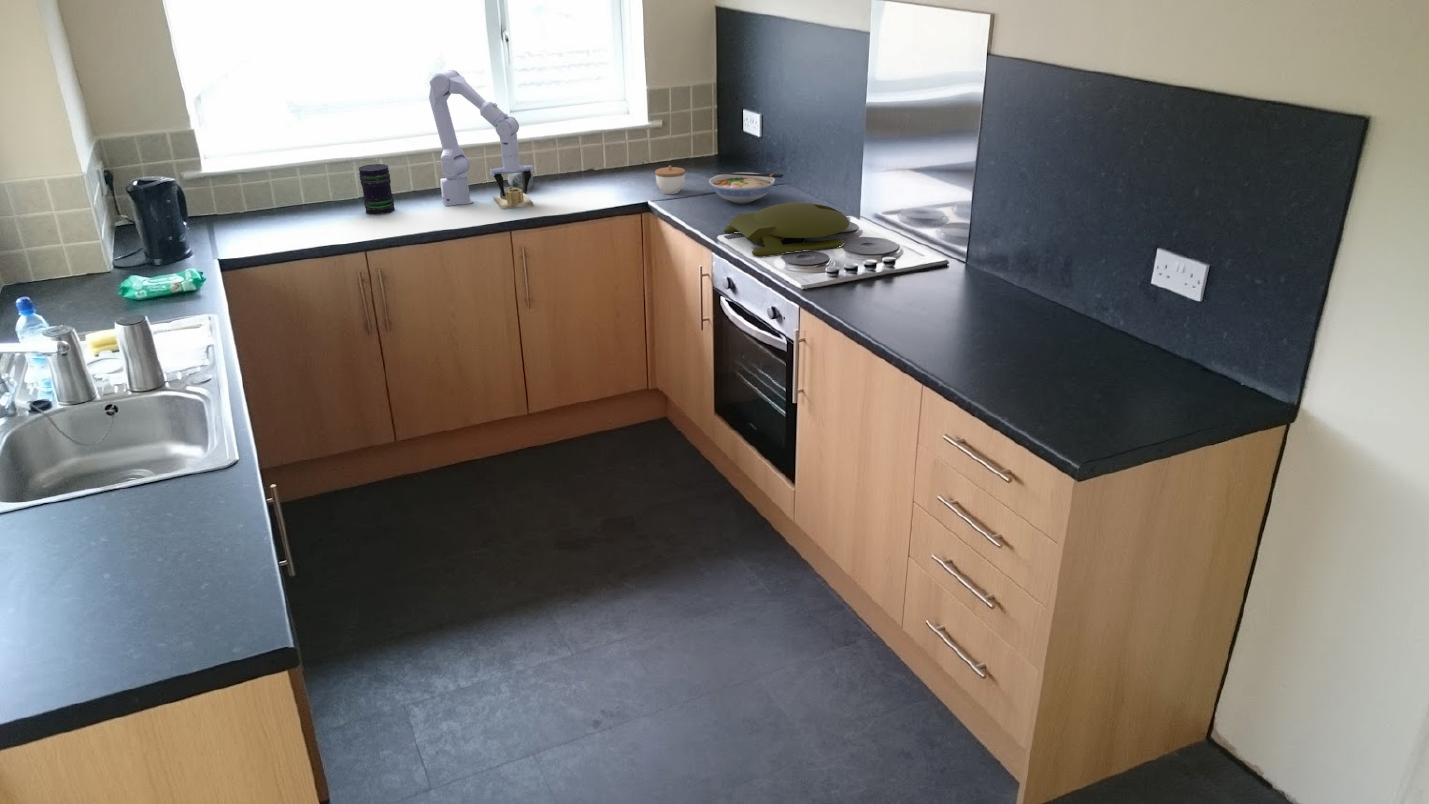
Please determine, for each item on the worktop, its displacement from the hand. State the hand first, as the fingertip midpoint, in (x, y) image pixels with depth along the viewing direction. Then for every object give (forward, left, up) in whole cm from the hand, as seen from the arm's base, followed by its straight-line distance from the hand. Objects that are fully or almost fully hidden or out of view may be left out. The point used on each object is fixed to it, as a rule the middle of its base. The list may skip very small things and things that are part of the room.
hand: (514, 194), depth 355 cm
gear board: (0, +4, -4) cm, 6 cm away
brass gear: (0, 0, -3) cm, 3 cm away
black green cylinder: (-44, +13, -4) cm, 46 cm away
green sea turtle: (+69, -76, -4) cm, 103 cm away
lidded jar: (+55, -6, -4) cm, 55 cm away
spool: (+7, +23, -4) cm, 24 cm away
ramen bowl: (+73, -29, -4) cm, 79 cm away
